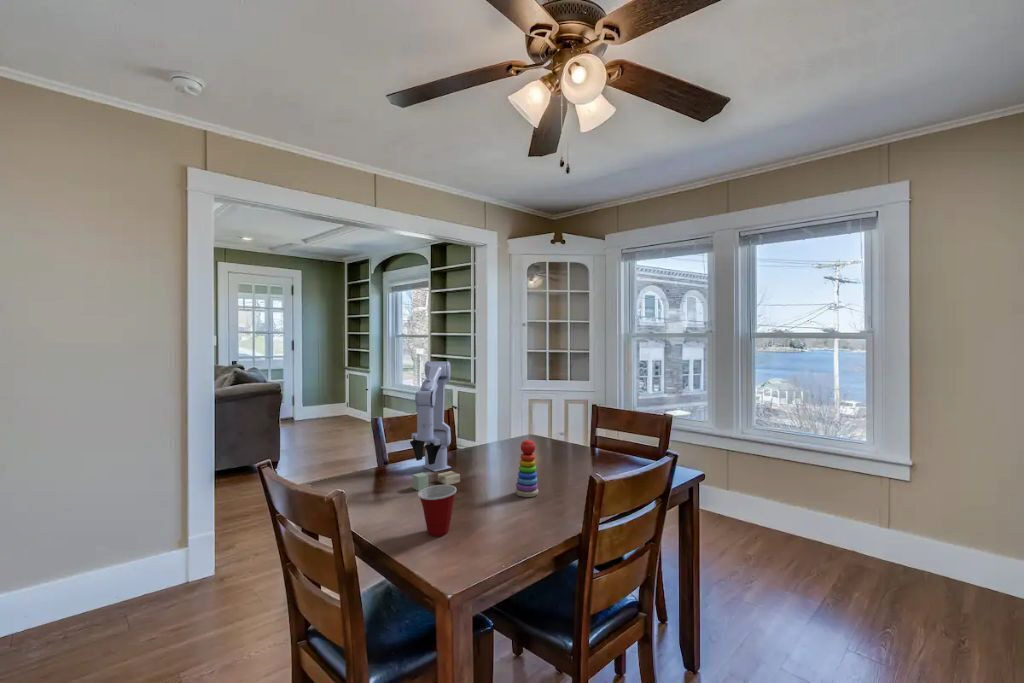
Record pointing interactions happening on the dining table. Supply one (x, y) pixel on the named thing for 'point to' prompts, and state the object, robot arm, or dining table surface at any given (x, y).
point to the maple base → (448, 477)
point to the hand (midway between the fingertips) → (425, 461)
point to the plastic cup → (437, 508)
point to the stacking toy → (527, 471)
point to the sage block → (420, 481)
